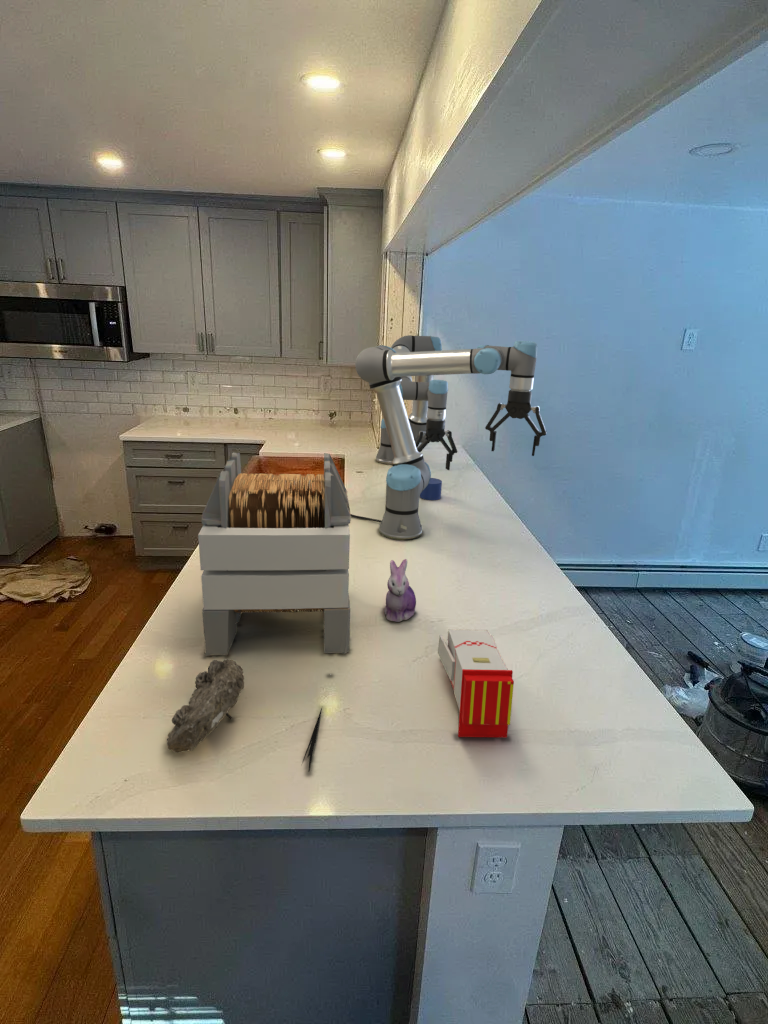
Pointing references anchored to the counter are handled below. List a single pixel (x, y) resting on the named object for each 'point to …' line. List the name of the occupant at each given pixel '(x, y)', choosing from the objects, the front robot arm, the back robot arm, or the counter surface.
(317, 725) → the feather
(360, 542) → the counter surface
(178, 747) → the fossil
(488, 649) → the toy
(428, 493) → the canister
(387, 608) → the figurine
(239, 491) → the transformer
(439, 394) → the back robot arm
